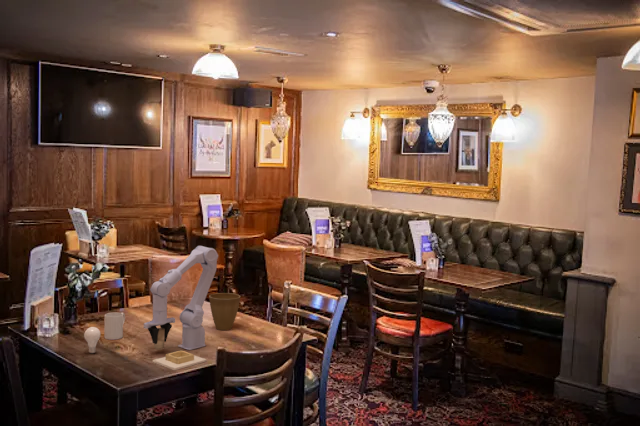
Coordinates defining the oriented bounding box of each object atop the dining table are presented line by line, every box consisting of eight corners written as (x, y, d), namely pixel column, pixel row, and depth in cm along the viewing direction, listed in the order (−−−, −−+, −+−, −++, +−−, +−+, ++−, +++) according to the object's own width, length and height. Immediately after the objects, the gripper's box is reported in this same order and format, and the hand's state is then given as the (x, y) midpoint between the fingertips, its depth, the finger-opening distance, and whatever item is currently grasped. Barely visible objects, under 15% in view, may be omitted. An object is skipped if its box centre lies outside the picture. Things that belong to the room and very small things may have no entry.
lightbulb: (81, 352, 268) (81, 326, 267) (96, 350, 273) (96, 324, 272) (88, 356, 264) (88, 330, 263) (103, 353, 268) (103, 327, 267)
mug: (116, 340, 287) (116, 317, 286) (100, 338, 289) (101, 315, 288) (131, 333, 299) (131, 311, 298) (116, 332, 301) (116, 309, 300)
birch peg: (160, 345, 275) (160, 327, 274) (166, 348, 272) (166, 329, 272) (152, 347, 272) (152, 329, 271) (158, 350, 269) (158, 331, 269)
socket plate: (184, 353, 273) (184, 346, 272) (206, 361, 264) (206, 354, 263) (152, 362, 260) (152, 354, 260) (174, 370, 251) (174, 362, 251)
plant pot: (242, 331, 310) (243, 298, 309) (212, 333, 305) (212, 299, 304) (235, 323, 324) (236, 291, 323) (205, 325, 319) (206, 293, 317)
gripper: (168, 305, 279) (167, 336, 280) (139, 311, 268) (138, 343, 269) (178, 308, 274) (178, 340, 276) (149, 314, 263) (149, 347, 264)
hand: (159, 342), depth 272 cm, fingers closed on birch peg, 4 cm apart
